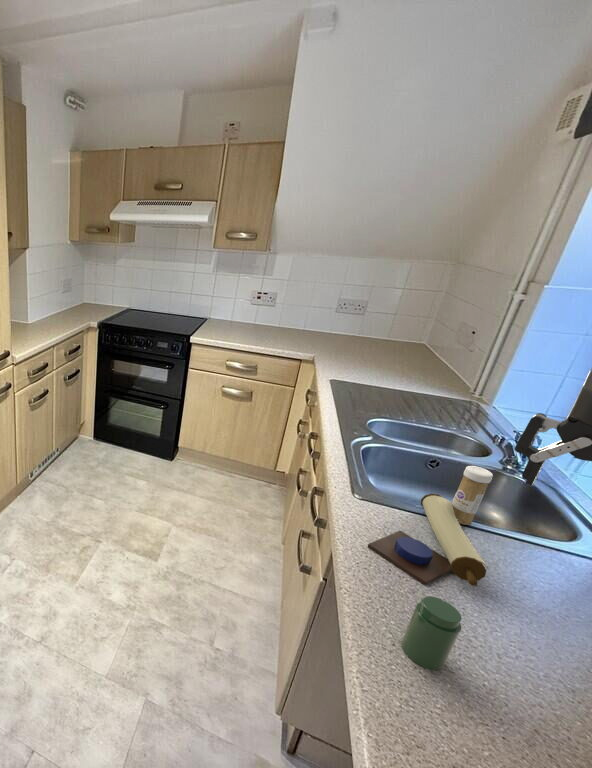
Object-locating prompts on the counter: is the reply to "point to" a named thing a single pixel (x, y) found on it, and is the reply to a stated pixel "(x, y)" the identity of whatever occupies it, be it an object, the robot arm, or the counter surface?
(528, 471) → the robot arm
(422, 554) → the lid
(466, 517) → the sprinkles bottle
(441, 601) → the jar
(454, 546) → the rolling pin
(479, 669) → the counter surface
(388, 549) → the coaster
